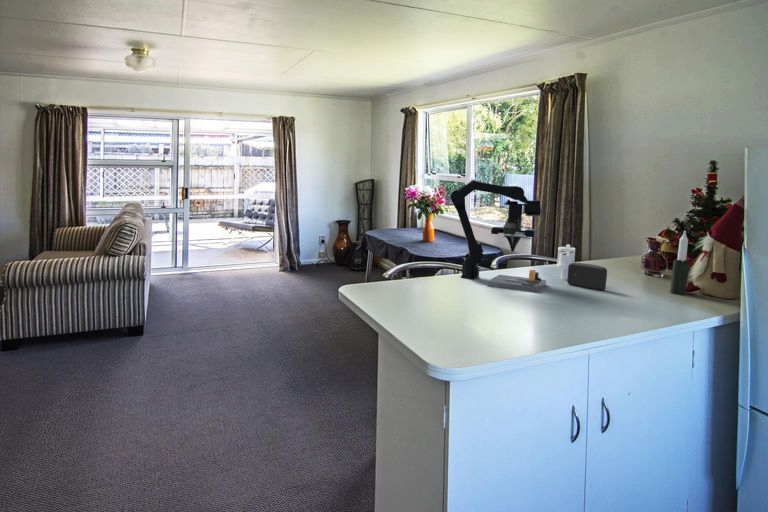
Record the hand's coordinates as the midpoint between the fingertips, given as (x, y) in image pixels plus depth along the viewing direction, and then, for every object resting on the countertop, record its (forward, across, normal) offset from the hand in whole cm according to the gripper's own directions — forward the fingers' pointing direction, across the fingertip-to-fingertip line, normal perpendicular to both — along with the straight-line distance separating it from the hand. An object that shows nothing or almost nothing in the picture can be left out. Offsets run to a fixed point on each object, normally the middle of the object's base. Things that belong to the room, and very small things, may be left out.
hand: (512, 251), depth 231 cm
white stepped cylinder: (+12, +20, +13) cm, 27 cm away
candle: (+12, +64, +12) cm, 66 cm away
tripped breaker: (+10, +12, -12) cm, 20 cm away
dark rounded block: (+12, +31, +1) cm, 33 cm away
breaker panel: (+12, +6, -12) cm, 18 cm away
